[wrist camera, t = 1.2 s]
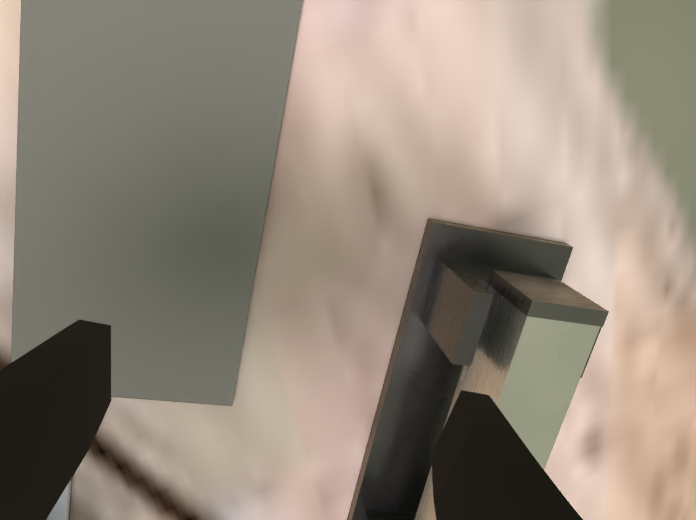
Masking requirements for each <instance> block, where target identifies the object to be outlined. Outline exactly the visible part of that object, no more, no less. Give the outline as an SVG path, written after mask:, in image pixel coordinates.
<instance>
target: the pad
mask: <svg viewBox="0 0 696 520" xmlns="http://www.w3.org/2000/svg"><path fill="white" fill-rule="evenodd" d="M302 1H303V0H21V25H20V61H19V97H18V134H17V170H16V206H15V242H14V278H13V315H12V351H11V363H12V362H13V361H15V360H16V359H18V358H19V357H21V356H23V355H24V354H26V353H27V352H29V351H30V350H32V349H33V348H35V347H37V346H38V345H40V344H41V343H43V342H44V341H46V340H47V339H49V338H50V337H52V336H54V335H55V334H57V333H58V332H60V331H61V330H63V329H65V328H66V327H68V326H69V325H71V324H73V323H74V322H76V321H77V320H79V319H80V320H85V321H91V322H96V323H102V324H107V325H111V397H122V398H135V399H147V400H160V401H173V402H186V403H199V404H211V405H224V406H232V404H233V398H234V393H235V387H236V381H237V375H238V370H239V364H240V358H241V352H242V347H243V341H244V335H245V329H246V323H247V318H248V312H249V306H250V300H251V295H252V289H253V283H254V277H255V272H256V266H257V260H258V254H259V249H260V243H261V237H262V231H263V226H264V220H265V214H266V208H267V203H268V197H269V191H270V185H271V180H272V174H273V168H274V162H275V156H276V151H277V145H278V139H279V133H280V128H281V122H282V116H283V110H284V105H285V99H286V93H287V87H288V82H289V76H290V70H291V64H292V59H293V53H294V47H295V41H296V36H297V30H298V24H299V18H300V12H301V7H302Z"/></svg>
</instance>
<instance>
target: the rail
mask: <svg viewBox="0 0 696 520" xmlns="http://www.w3.org/2000/svg"><path fill="white" fill-rule="evenodd" d="M488 284H489V286H488V290H489V291H490V292H491V293H493V294H494V296H493V299H492V302H491V305H490V308H489V311H488V314H487V318H486V321H485V324H484V327H483V330H482V333H481V336H480V339H479V342H478V346H477V349H476V352H475V355H474V358H473V361H472V364H471V366H466V365H463V368H462V371H461V374H460V378H459V381H458V384H457V387H456V390H455V393H454V396H453V400H452V403H451V406H450V409H449V412H448V415H447V419H446V422H447V420H448V418H449V416H450V413H451V411H452V409H453V407H454V405H455V402H456V400H457V398H458V396H459V394H460V392H461V390H464V391H469V392H475V393H480V394H485V395H489V396H490V397H491V399H492V400H493V401H494V403H495V404H496V405H497V407H498V408H499V409H500V411H501V412H502V413H503V415H504V416H505V418H506V419H507V420H508V422H509V423H510V425H511V426H512V427H513V429H514V430H515V432H516V433H517V434H518V436H519V437H520V438H521V440H522V441H523V443H524V444H525V445H526V447H527V448H528V449H529V451H530V452H531V454H532V455H533V456H534V458H535V459H536V460H537V462H538V463H539V464H540V466H541V467H542V468H543V470H544V468H545V466H546V463H547V461H548V458H549V456H550V453H551V451H552V448H553V445H554V443H555V440H556V438H557V435H558V433H559V430H560V428H561V425H562V423H563V420H564V418H565V415H566V413H567V410H568V408H569V405H570V402H571V400H572V397H573V395H574V392H575V390H576V387H577V385H578V382H579V380H580V377H581V375H582V372H583V370H584V367H585V364H586V362H587V359H588V357H589V354H590V352H591V349H592V347H593V344H594V342H595V339H596V337H597V334H598V332H599V329H600V327H603V325H604V322H605V320H606V317H607V315H608V312H609V311H607V310H605V309H604V308H602V307H601V306H599V305H598V304H596V303H594V302H593V301H591V300H590V299H588V298H586V297H585V296H583V295H582V294H580V293H579V292H577V291H575V290H574V289H572V288H571V287H569V286H567V285H566V284H564V283H563V282H561V281H560V280H554V279H548V278H542V277H536V276H530V275H523V274H517V273H511V272H505V271H498V270H492V271H491V274H490V277H489V280H488ZM446 422H445V424H446ZM444 426H445V425H444ZM443 429H444V428H443ZM414 520H436V514H435V508H434V498H433V483H432V466H431V469H430V472H429V475H428V478H427V482H426V485H425V488H424V491H423V494H422V497H421V501H420V504H419V507H418V510H417V513H416V516H415V519H414Z"/></svg>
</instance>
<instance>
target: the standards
mask: <svg viewBox="0 0 696 520" xmlns="http://www.w3.org/2000/svg"><path fill="white" fill-rule="evenodd" d="M572 249H573V247H572V246H570V245H568V244H566V243H560V242H555V241H549V240H544V239H538V238H533V237H527V236H521V235H516V234H510V233H505V232H499V231H494V230H488V229H483V228H477V227H472V226H466V225H461V224H455V223H450V222H444V221H439V220H433V219H428V222H427V226H426V229H425V233H424V237H423V241H422V244H421V248H420V252H419V255H418V259H417V263H416V267H415V270H414V274H413V278H412V281H411V285H410V289H409V293H408V296H407V300H406V304H405V307H404V311H403V315H402V319H401V322H400V326H399V330H398V333H397V337H396V341H395V345H394V348H393V352H392V356H391V359H390V363H389V367H388V370H387V374H386V378H385V382H384V385H383V389H382V393H381V396H380V400H379V404H378V408H377V411H376V415H375V419H374V422H373V426H372V430H371V434H370V437H369V441H368V445H367V448H366V452H365V456H364V460H363V463H362V467H361V471H360V474H359V478H358V482H357V486H356V489H355V493H354V497H353V500H352V504H351V508H350V512H349V515H348V519H347V520H414V519H415V516H416V513H417V510H418V507H419V504H420V501H421V497H422V494H423V491H424V488H425V485H426V482H427V478H428V475H429V472H430V469H431V466H432V457H431V455H432V453H433V450H434V448H435V446H436V444H437V442H438V439H439V437H440V435H441V433H442V431H443V428H444V425H445V422H446V419H447V415H448V412H449V409H450V406H451V403H452V400H453V396H454V393H455V390H456V387H457V384H458V381H459V378H460V374H461V371H462V368H463V365H466V366H471V364H472V361H473V358H474V355H475V352H476V349H477V346H478V342H479V339H480V336H481V333H482V330H483V327H484V324H485V321H486V318H487V314H488V311H489V308H490V305H491V302H492V299H493V296H494V294H493V293H491V292H490V291H489V290H488V286H489V284H488V280H489V277H490V274H491V271H492V270H498V271H505V272H511V273H517V274H523V275H530V276H536V277H542V278H548V279H554V280H560V281H561V280H562V277H563V274H564V271H565V269H566V266H567V263H568V260H569V258H570V255H571V252H572ZM600 330H601V327H600V329H599V332H600ZM599 332H598V334H597V337H596V339H595V342H594V344H593V347H592V349H591V352H590V354H589V357H588V359H587V362H586V364H585V367H584V370H585V368H586V365H587V363H588V360H589V358H590V355H591V353H592V350H593V348H594V345H595V343H596V340H597V338H598V335H599ZM584 370H583V372H582V375H583V373H584ZM582 375H581V377H580V378H582Z"/></svg>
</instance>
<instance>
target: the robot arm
mask: <svg viewBox="0 0 696 520" xmlns="http://www.w3.org/2000/svg"><path fill="white" fill-rule="evenodd" d="M110 402H111V325H107V324H102V323H96V322H91V321H85V320H80V319H79V320H77V321H76V322H74V323H73V324H71V325H69V326H68V327H66V328H65V329H63V330H61V331H60V332H58V333H57V334H55V335H54V336H52V337H50V338H49V339H47V340H46V341H44V342H43V343H41V344H40V345H38V346H37V347H35V348H33V349H32V350H30V351H29V352H27V353H26V354H24V355H23V356H21V357H19V358H18V359H16V360H15V361H13V362H12V363H10V364H8V365H7V366H5V367H3V368H2V369H0V520H68V519H69V505H70V491H71V478H72V476H73V475H74V473H75V471H76V470H77V468H78V466H79V465H80V463H81V461H82V460H83V458H84V456H85V455H86V453H87V451H88V450H89V448H90V446H91V444H92V442H93V439H94V437H95V435H96V433H97V431H98V429H99V427H100V424H101V422H102V420H103V418H104V415H105V413H106V411H107V409H108V406H109V404H110ZM431 457H432V483H433V498H434V508H435V514H436V520H583V519H582V518H581V517H580V516H579V514H578V513H577V512H576V511H575V510H574V508H573V507H572V506H571V505H570V503H569V502H568V501H567V500H566V498H565V497H564V496H563V495H562V493H561V492H560V491H559V489H558V488H557V487H556V486H555V484H554V483H553V482H552V480H551V479H550V478H549V476H548V475H547V474H546V472H545V471H544V470H543V468H542V467H541V466H540V464H539V463H538V462H537V460H536V459H535V458H534V456H533V455H532V454H531V452H530V451H529V449H528V448H527V447H526V445H525V444H524V443H523V441H522V440H521V438H520V437H519V436H518V434H517V433H516V432H515V430H514V429H513V427H512V426H511V425H510V423H509V422H508V420H507V419H506V418H505V416H504V415H503V413H502V412H501V411H500V409H499V408H498V407H497V405H496V404H495V403H494V401H493V400H492V399H491V397H490V396H489V395H485V394H480V393H475V392H469V391H464V390H461V392H460V394H459V396H458V398H457V400H456V402H455V405H454V407H453V409H452V411H451V413H450V416H449V418H448V420H447V422H446V424H445V426H444V429H443V431H442V433H441V435H440V437H439V439H438V442H437V444H436V446H435V448H434V450H433V453H432V455H431Z"/></svg>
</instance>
